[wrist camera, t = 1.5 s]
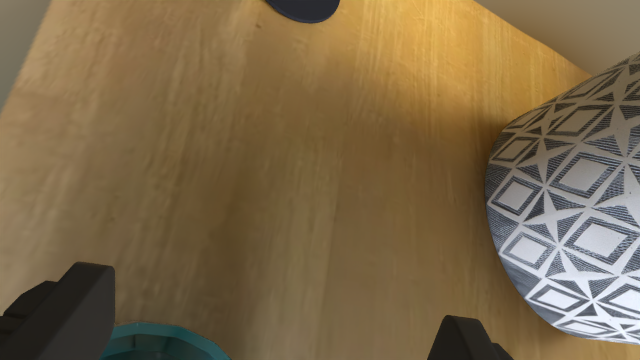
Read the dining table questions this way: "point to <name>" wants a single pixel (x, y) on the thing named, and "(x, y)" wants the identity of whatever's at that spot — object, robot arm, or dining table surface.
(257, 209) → the dining table surface
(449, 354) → the robot arm
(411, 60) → the dining table surface
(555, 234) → the planter
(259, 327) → the dining table surface
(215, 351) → the bowl
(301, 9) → the coaster
